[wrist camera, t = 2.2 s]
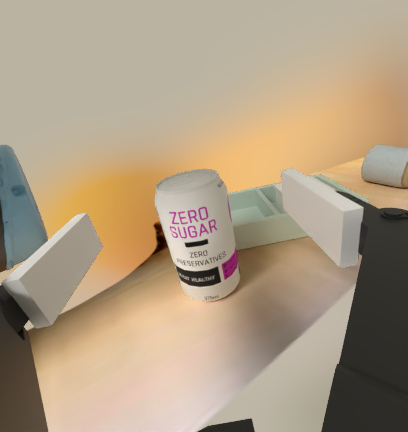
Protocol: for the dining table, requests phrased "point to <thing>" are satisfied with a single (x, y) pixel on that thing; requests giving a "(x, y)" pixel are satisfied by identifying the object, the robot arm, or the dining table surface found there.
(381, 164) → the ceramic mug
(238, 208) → the divided tray
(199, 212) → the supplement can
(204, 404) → the dining table surface
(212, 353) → the dining table surface
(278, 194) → the pale grey square block
